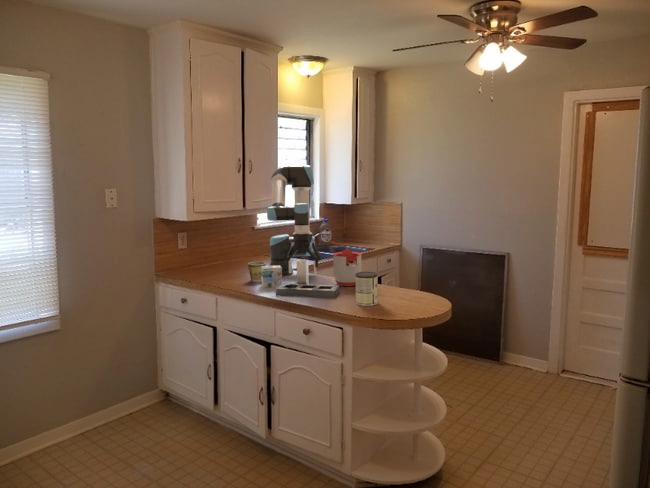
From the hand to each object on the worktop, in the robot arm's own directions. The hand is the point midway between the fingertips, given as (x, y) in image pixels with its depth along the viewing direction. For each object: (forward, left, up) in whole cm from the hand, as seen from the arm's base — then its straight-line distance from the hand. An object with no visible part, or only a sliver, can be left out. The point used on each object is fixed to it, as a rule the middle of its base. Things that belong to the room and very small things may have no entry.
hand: (302, 273), depth 289 cm
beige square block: (0, 0, -8) cm, 8 cm away
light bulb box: (-2, -18, -8) cm, 20 cm away
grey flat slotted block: (+12, +6, -8) cm, 15 cm away
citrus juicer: (-12, +22, -8) cm, 26 cm away
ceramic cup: (-16, -31, -8) cm, 36 cm away
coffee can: (+26, +38, -8) cm, 47 cm away
